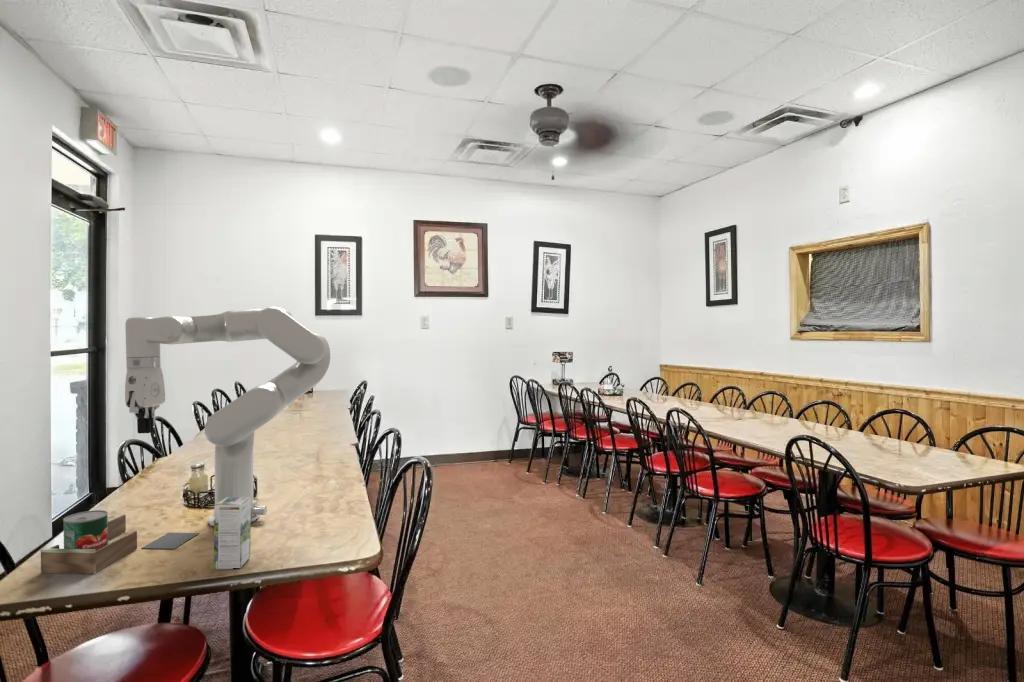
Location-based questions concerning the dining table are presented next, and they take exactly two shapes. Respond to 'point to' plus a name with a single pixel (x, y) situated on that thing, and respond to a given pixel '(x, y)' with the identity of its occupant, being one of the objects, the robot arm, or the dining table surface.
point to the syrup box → (232, 532)
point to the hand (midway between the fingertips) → (145, 432)
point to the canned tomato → (86, 530)
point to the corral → (90, 552)
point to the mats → (170, 541)
